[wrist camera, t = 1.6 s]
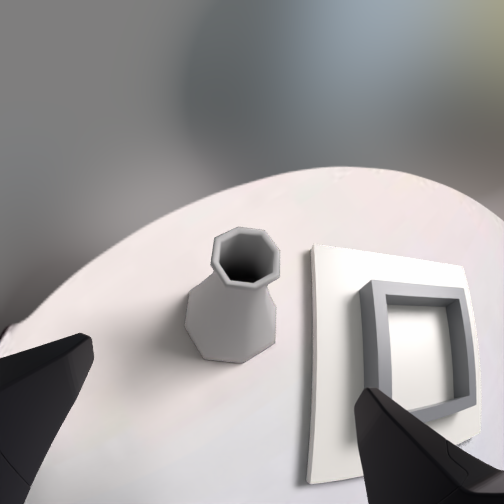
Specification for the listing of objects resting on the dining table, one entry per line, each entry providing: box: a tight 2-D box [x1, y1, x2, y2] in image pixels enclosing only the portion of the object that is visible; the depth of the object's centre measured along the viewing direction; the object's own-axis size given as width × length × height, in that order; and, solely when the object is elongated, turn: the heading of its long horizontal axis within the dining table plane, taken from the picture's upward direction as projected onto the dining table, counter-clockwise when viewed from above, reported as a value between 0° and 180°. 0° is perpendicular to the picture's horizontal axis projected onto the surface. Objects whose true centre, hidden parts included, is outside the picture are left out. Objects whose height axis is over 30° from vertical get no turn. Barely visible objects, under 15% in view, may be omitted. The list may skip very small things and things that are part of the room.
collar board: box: [306, 244, 481, 484], centre depth 19 cm, size 20×20×3 cm
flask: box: [184, 227, 280, 363], centre depth 17 cm, size 7×7×10 cm
